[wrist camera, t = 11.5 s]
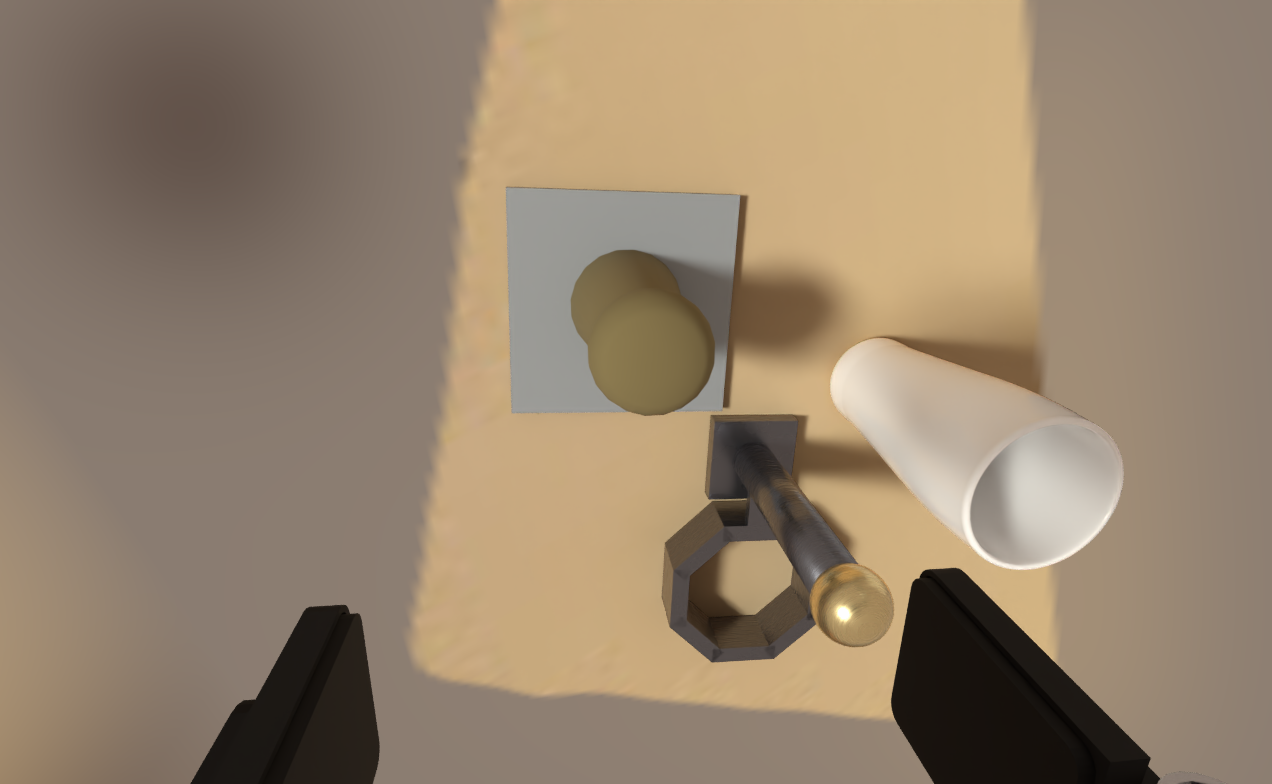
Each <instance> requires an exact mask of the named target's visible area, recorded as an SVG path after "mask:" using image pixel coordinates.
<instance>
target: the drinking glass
mask: <svg viewBox="0 0 1272 784" xmlns="http://www.w3.org/2000/svg"><path fill="white" fill-rule="evenodd" d="M830 393H831V398H832V401H833V403H834V405H835V407H836V408H837V410H838V411H839V412H840V414H841V415H842V416H843V417H845V418H846V419H847V420H848V421H849V422H850V423H851V424H853V426H854V427H855V428H856V429H857V430H858V431H859V432H860V433H861V435H862V436H863V437H864V438H865V439H866V440H867V441H868V443H869V444H870V445H871V446H872V447H873V448H874V450H875V451H876V452H877V453H878V454H879V455H880V457H881V458H882V459H883V460H884V461H885V462H886V464H887V465H888V466H889V467H890V468H891V470H892V471H893V472H894V473H895V474H896V475H897V477H898V478H899V479H900V480H901V481H902V483H903V484H904V485H905V486H906V487H907V488H908V489H909V491H910V492H911V493H912V494H913V495H914V496H915V497H916V499H917V500H918V501H919V502H920V503H921V504H922V505H923V506H924V507H925V508H926V509H927V510H928V511H929V512H930V513H931V514H932V515H933V516H934V517H935V518H936V519H937V520H938V521H939V522H940V523H941V524H943V525H944V526H945V527H946V528H947V529H948V530H949V531H951V532H952V533H953V534H954V535H955V536H956V537H958V538H959V539H960V540H961V541H962V542H964V543H965V544H966V545H967V546H969V547H970V548H971V549H972V550H974V551H975V552H976V553H977V554H978V555H980V556H981V557H982V558H983V559H985V560H987V561H988V562H990V563H992V564H994V565H997V566H1000V567H1003V568H1007V569H1014V570H1030V569H1037V568H1042V567H1046V566H1049V565H1052V564H1055V563H1057V562H1060V561H1062V560H1064V559H1066V558H1068V557H1069V556H1071V555H1073V554H1075V553H1076V552H1077V551H1079V550H1080V549H1082V548H1083V547H1084V546H1085V545H1087V544H1088V543H1089V542H1090V541H1091V540H1092V539H1093V538H1094V537H1095V536H1096V535H1097V534H1098V533H1099V532H1100V530H1102V528H1103V527H1104V526H1105V524H1106V523H1107V522H1108V520H1109V519H1110V517H1111V515H1112V514H1113V512H1114V510H1115V508H1116V506H1117V503H1118V501H1119V498H1120V495H1121V491H1122V486H1123V478H1124V468H1123V461H1122V457H1121V454H1120V451H1119V448H1118V447H1117V445H1116V443H1115V441H1114V440H1113V439H1112V437H1111V436H1110V435H1109V434H1108V433H1107V432H1106V431H1105V430H1104V429H1102V428H1101V427H1100V426H1098V425H1096V424H1095V423H1093V422H1091V421H1089V420H1087V419H1085V418H1084V417H1082V416H1080V415H1078V414H1077V413H1075V412H1073V411H1071V410H1069V409H1068V408H1066V407H1064V406H1062V405H1060V404H1058V403H1056V402H1054V401H1052V400H1050V399H1048V398H1046V397H1044V396H1041V395H1039V394H1037V393H1035V392H1033V391H1030V390H1028V389H1026V388H1023V387H1021V386H1018V385H1016V384H1013V383H1011V382H1008V381H1005V380H1002V379H999V378H996V377H993V376H990V375H987V374H984V373H982V372H979V371H976V370H973V369H970V368H967V367H964V366H961V365H958V364H955V363H952V362H949V361H946V360H943V359H940V358H937V357H934V356H932V355H929V354H926V353H923V352H920V351H918V350H915V349H912V348H910V347H908V346H906V345H904V344H902V343H900V342H898V341H895V340H892V339H887V338H872V339H868V340H864V341H862V342H859V343H857V344H856V345H854V346H852V347H851V348H850V349H848V350H847V351H846V352H845V353H844V354H843V355H842V356H841V358H840V359H839V360H838V362H837V363H836V365H835V367H834V369H833V372H832V375H831V380H830Z"/></svg>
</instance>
